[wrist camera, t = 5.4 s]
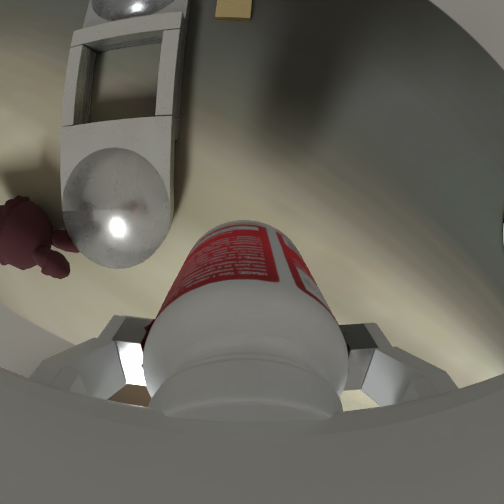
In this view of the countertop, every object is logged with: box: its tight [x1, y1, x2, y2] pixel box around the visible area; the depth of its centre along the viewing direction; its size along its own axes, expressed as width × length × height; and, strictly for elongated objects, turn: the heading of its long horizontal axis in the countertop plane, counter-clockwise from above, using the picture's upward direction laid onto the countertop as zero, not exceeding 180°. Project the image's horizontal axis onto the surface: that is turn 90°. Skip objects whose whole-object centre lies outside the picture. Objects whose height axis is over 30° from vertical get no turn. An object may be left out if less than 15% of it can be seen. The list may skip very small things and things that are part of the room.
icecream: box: [0, 195, 80, 279], centre depth 21 cm, size 7×7×15 cm
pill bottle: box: [142, 220, 349, 422], centre depth 10 cm, size 6×6×11 cm
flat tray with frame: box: [60, 0, 191, 269], centre depth 19 cm, size 32×10×3 cm, turn 177°
